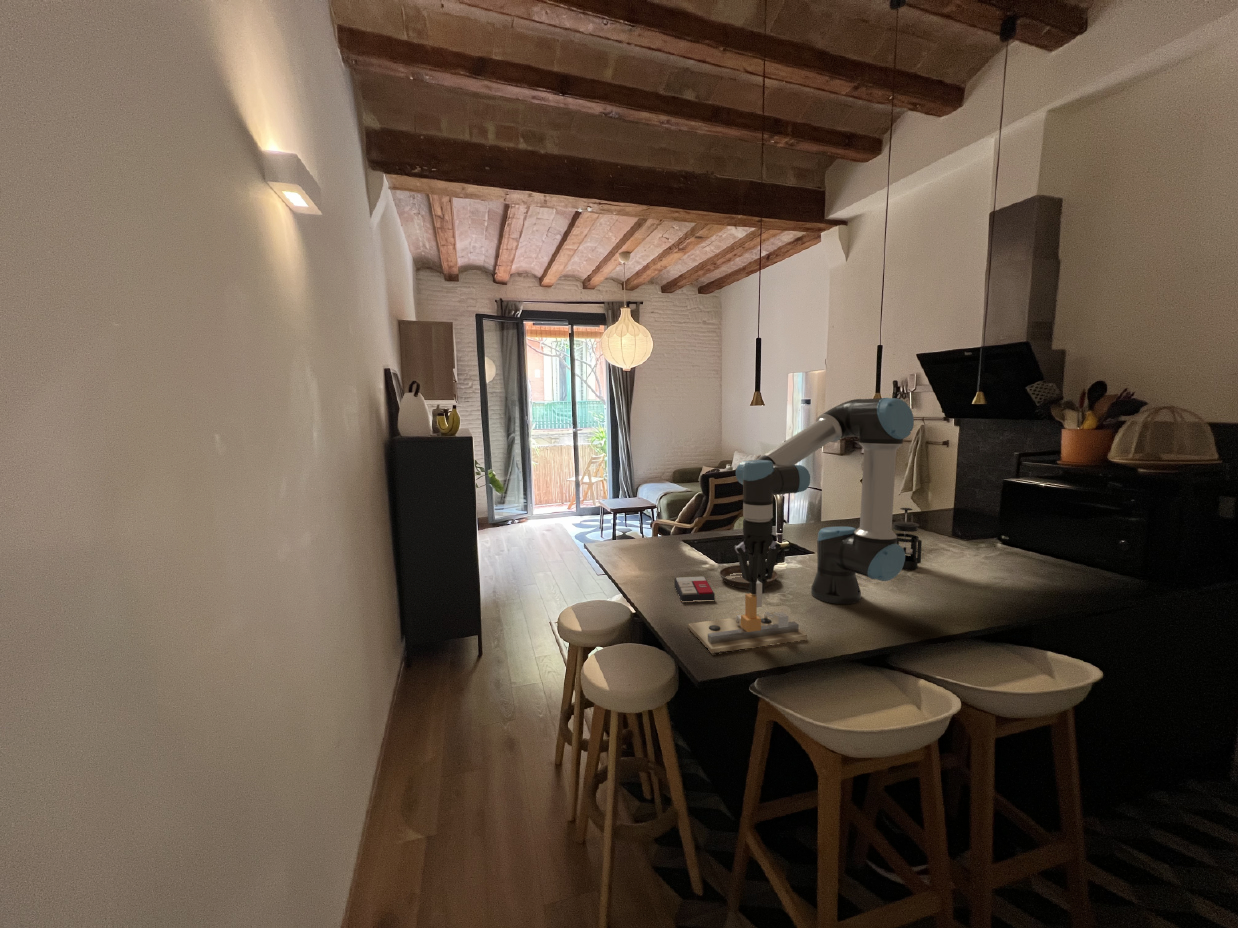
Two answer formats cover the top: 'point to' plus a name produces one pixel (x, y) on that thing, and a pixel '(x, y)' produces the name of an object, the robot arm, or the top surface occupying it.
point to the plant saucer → (739, 580)
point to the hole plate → (730, 624)
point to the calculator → (693, 588)
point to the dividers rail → (778, 627)
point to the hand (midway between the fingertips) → (756, 605)
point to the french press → (910, 561)
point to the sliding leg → (750, 615)
